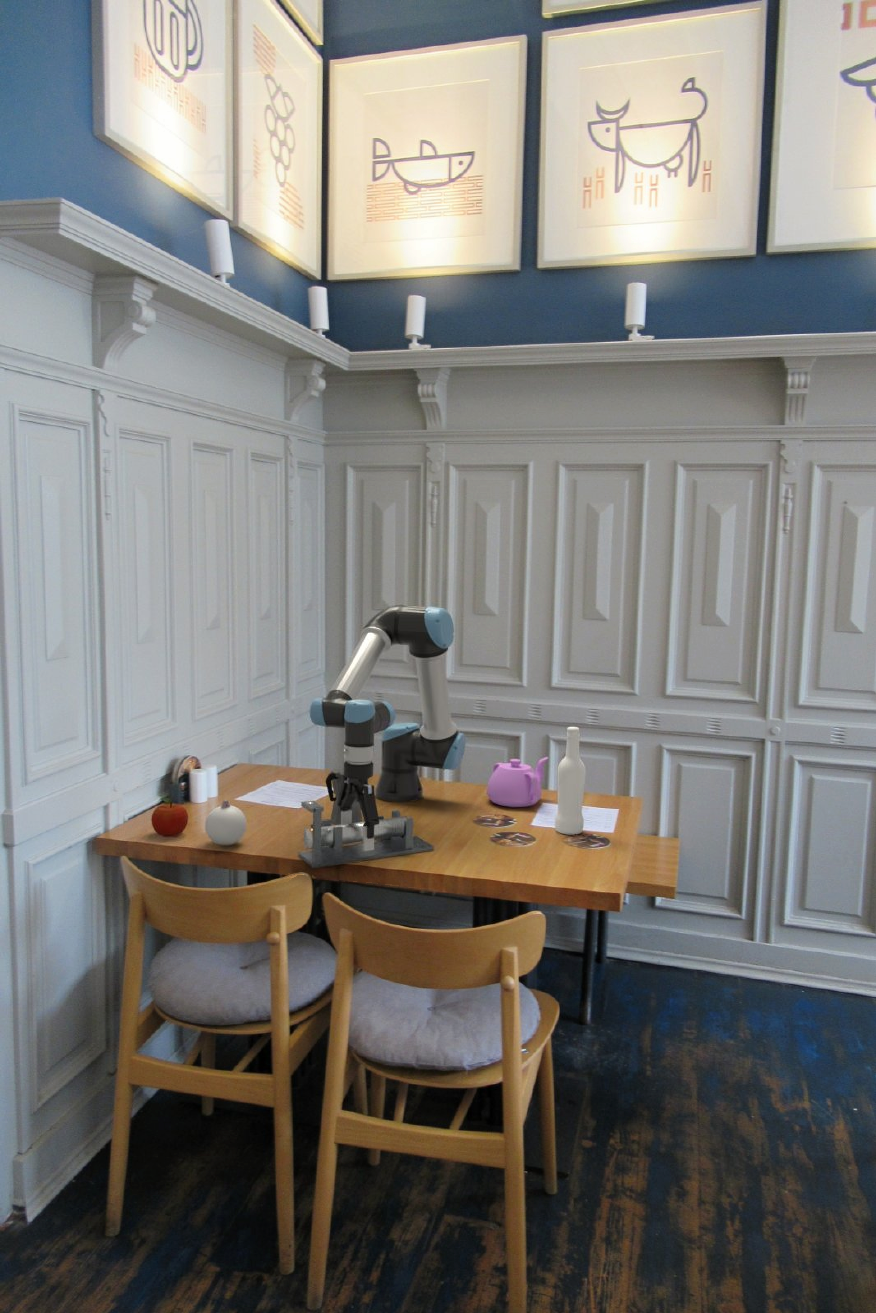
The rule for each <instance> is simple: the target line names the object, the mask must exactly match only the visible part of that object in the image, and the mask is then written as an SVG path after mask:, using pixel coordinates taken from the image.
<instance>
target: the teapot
mask: <svg viewBox="0 0 876 1313" xmlns="http://www.w3.org/2000/svg"><path fill="white" fill-rule="evenodd" d="M548 759H549V756H545V757H542V758H541V759H539V761H538V762H537V765H536V768H535V771H534V769H533V768H532V766H530V765H528V764H526V763H525V764H524V763H521V762H522V761H521V759H518V758H511V759H509V762H506V763H503V762H497V763H495V764H494V765H493V767H492V768H493V769H492V770H493V771H492V772H493V773H492V775H491V776H490V778H489V780H488V784H487V787H486V794H487V796H488V798H489V799H490V800H491V802H492V803H494V804H497V805H499V806H504V807H508V808H511V809H513V808H523V807H524V808H527V807H531V806H534V805H536V803H538V801H539V800H540V799H541V797H542V788H541V787H542V786H541V785H543V782H544V767H545V765H544V764H545V763H546V761H547V760H548Z"/></svg>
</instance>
